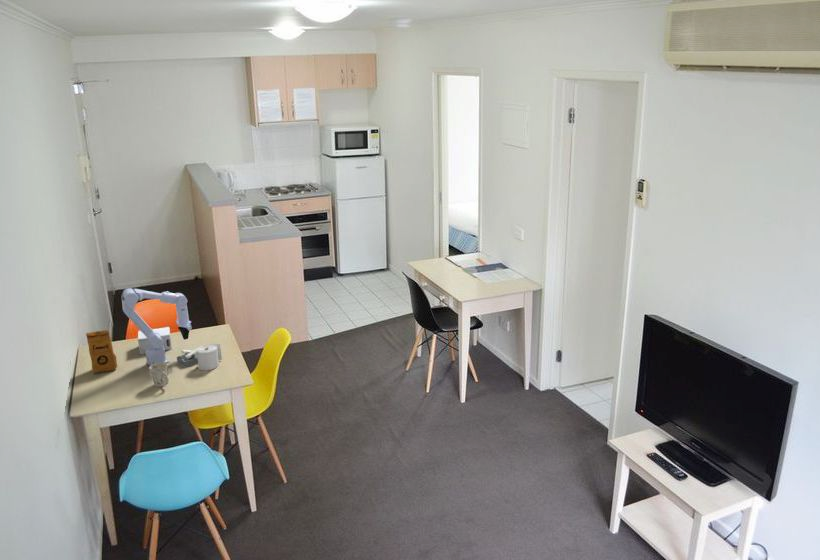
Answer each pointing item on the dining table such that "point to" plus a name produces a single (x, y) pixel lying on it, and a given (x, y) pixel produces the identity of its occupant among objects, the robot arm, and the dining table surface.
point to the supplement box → (145, 344)
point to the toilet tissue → (208, 356)
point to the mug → (159, 374)
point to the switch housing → (187, 360)
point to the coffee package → (101, 351)
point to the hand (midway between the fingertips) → (185, 338)
